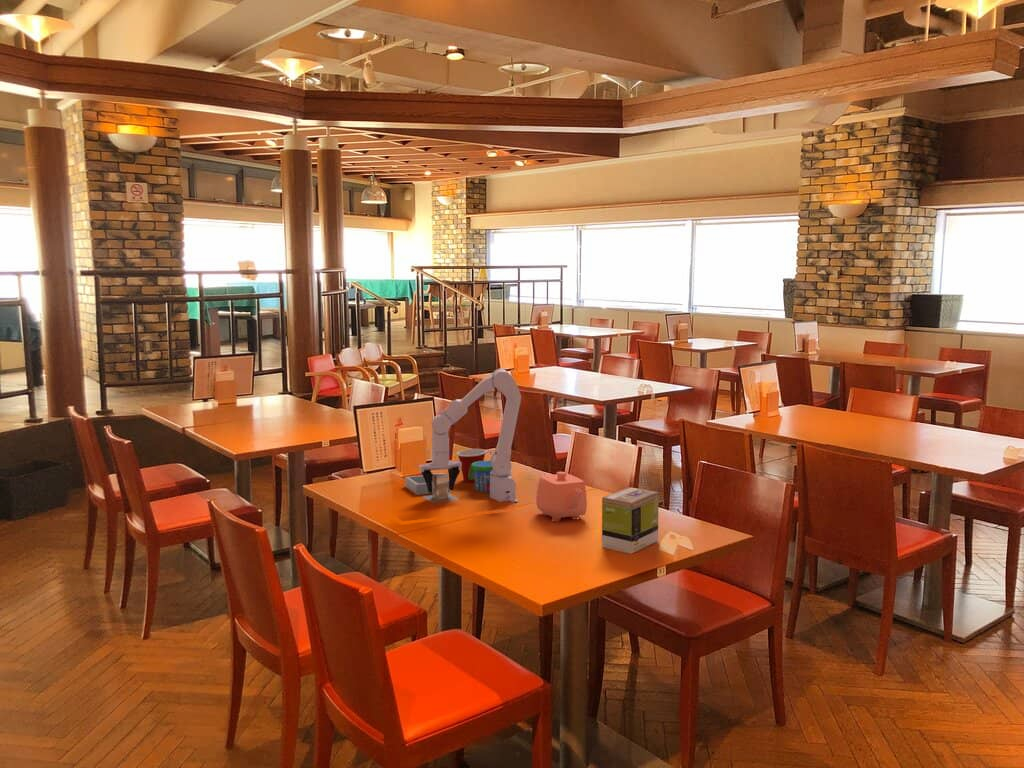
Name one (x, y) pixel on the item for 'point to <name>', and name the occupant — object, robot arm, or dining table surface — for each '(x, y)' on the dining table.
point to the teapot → (561, 496)
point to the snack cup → (481, 475)
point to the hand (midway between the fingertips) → (440, 490)
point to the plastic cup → (470, 461)
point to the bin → (418, 484)
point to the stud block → (433, 500)
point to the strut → (440, 486)
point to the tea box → (629, 520)
